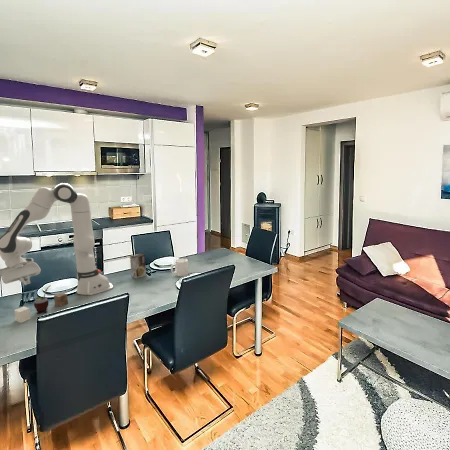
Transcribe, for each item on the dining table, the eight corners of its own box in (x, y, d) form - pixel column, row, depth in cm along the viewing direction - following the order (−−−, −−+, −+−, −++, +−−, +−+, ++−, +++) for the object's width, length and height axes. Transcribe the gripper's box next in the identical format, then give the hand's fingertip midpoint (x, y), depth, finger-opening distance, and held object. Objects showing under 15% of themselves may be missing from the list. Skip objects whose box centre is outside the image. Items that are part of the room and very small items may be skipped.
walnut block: (62, 301, 192) (61, 292, 191) (67, 303, 190) (66, 294, 189) (54, 304, 188) (53, 295, 187) (60, 306, 186) (59, 297, 185)
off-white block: (25, 316, 174) (24, 306, 173) (30, 318, 171) (29, 308, 170) (15, 320, 169) (14, 310, 168) (20, 322, 167) (19, 312, 166)
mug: (175, 278, 231) (174, 264, 229) (168, 274, 239) (168, 261, 237) (191, 274, 239) (190, 260, 237) (184, 270, 247) (184, 257, 245)
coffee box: (140, 273, 242) (139, 253, 239) (146, 275, 238) (145, 254, 235) (130, 277, 234) (129, 256, 231) (136, 278, 231) (135, 257, 228)
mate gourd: (32, 313, 177) (29, 288, 175) (44, 307, 185) (41, 283, 182) (41, 315, 175) (38, 289, 172) (54, 309, 182) (51, 284, 179)
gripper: (-2, 266, 175) (10, 286, 173) (35, 257, 193) (46, 275, 190) (-5, 273, 178) (6, 292, 175) (31, 263, 196) (43, 281, 193)
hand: (27, 283), depth 183 cm, fingers closed
